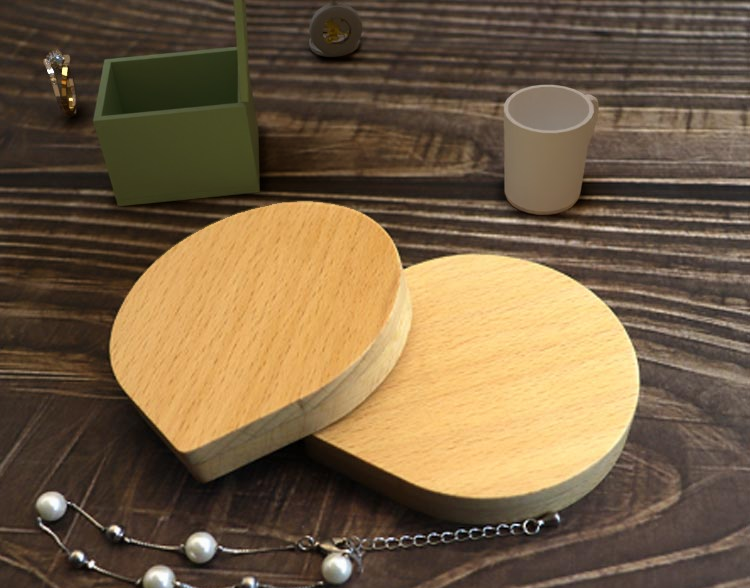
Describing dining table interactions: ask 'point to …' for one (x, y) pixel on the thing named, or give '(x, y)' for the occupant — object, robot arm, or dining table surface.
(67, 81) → the ring
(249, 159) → the chest
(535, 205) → the mug
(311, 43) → the pocket watch
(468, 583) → the dining table surface
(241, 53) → the lid
